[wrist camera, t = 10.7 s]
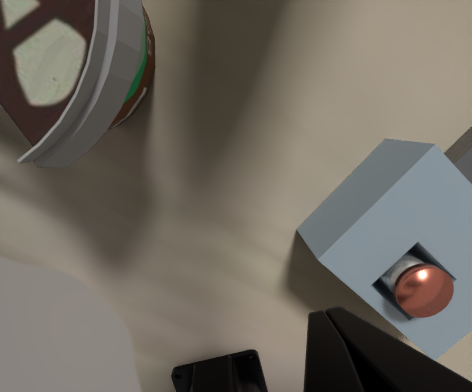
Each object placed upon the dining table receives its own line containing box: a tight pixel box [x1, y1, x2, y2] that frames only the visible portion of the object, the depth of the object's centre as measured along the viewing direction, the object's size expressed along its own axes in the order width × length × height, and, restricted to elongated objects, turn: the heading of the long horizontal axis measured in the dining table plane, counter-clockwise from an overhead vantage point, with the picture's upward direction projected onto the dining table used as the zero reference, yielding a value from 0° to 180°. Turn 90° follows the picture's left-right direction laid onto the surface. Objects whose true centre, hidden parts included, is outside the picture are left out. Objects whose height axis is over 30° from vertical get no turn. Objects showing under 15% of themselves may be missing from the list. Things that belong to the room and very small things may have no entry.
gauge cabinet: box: [297, 139, 472, 360], centre depth 18 cm, size 8×10×4 cm
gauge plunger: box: [378, 251, 454, 318], centre depth 18 cm, size 3×3×5 cm
